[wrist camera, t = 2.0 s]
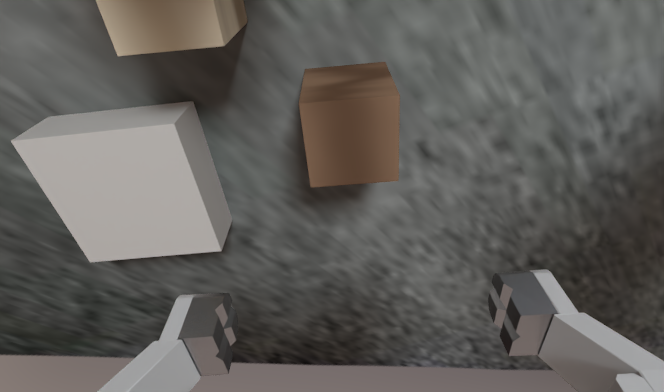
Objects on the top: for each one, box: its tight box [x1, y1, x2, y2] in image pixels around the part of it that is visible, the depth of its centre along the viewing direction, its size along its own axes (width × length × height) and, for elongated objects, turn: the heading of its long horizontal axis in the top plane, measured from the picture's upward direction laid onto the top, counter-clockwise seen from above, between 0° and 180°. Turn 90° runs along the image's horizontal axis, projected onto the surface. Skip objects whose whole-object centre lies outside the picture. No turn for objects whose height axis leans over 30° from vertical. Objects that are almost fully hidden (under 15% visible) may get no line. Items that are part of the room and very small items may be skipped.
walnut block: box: [299, 62, 400, 187], centre depth 22 cm, size 5×5×6 cm
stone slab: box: [11, 101, 232, 262], centre depth 26 cm, size 10×10×4 cm
